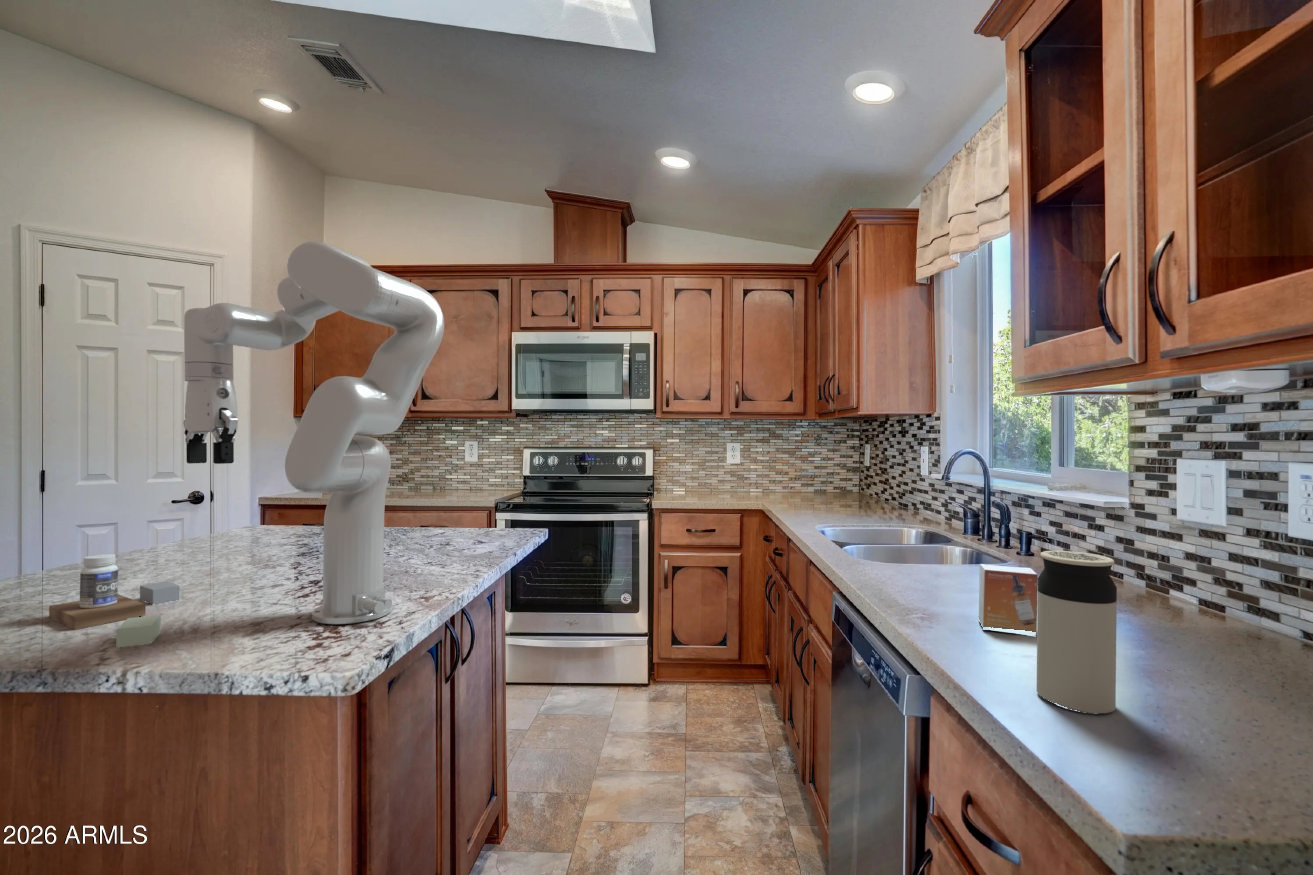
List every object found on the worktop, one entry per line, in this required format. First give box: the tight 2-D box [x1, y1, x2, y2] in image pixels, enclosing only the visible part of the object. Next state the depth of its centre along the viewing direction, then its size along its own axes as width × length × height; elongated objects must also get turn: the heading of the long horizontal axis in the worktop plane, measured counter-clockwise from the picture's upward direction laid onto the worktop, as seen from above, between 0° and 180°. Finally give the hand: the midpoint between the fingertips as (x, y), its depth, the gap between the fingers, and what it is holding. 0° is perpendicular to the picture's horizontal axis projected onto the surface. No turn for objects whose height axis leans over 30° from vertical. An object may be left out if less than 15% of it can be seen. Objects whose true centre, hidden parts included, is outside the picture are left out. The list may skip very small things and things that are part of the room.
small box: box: [978, 563, 1039, 632], centre depth 101 cm, size 8×6×10 cm
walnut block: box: [48, 593, 147, 630], centre depth 101 cm, size 12×9×2 cm
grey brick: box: [139, 580, 181, 605], centre depth 112 cm, size 6×4×3 cm, turn 59°
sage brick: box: [115, 614, 162, 649], centre depth 90 cm, size 6×4×3 cm, turn 30°
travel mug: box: [1036, 550, 1118, 714], centre depth 73 cm, size 8×8×18 cm
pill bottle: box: [79, 553, 119, 608], centre depth 101 cm, size 5×5×8 cm
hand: (209, 463), depth 113 cm, fingers open, 9 cm apart
